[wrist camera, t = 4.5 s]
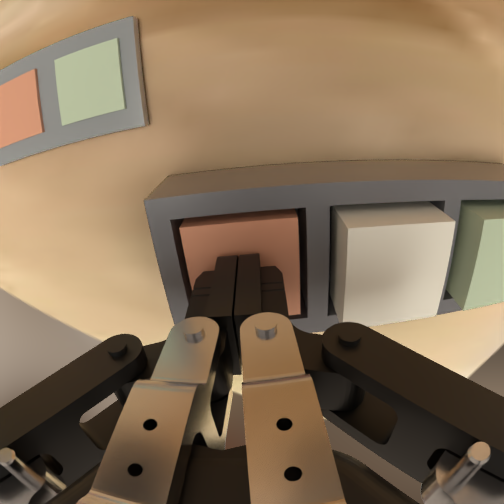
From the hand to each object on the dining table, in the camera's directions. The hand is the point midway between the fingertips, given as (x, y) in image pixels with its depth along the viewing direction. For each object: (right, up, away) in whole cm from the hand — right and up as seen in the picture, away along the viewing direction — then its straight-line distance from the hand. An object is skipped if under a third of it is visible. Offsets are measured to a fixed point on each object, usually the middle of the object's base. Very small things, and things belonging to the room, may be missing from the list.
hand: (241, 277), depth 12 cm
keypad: (+5, +2, +3) cm, 7 cm away
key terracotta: (0, +1, +2) cm, 2 cm away
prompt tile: (-9, +8, 0) cm, 12 cm away
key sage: (+11, +1, 0) cm, 11 cm away
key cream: (+5, +1, +1) cm, 6 cm away
